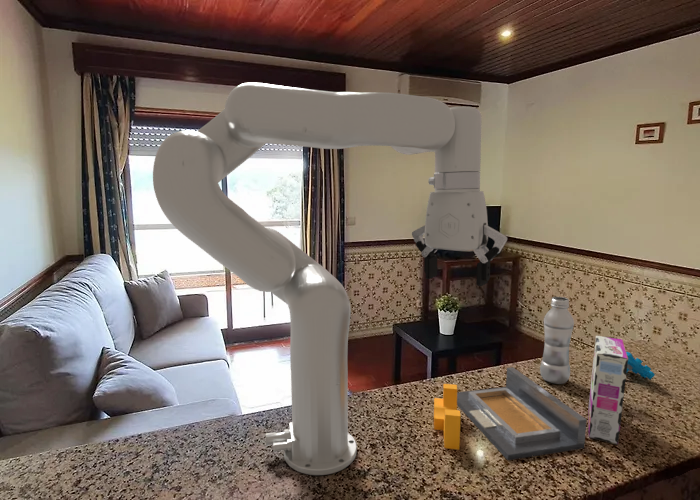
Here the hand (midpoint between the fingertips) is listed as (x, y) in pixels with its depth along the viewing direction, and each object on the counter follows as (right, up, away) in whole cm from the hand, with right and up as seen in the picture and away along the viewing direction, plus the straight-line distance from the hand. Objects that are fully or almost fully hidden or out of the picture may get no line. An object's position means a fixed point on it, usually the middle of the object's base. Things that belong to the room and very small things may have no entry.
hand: (455, 280), depth 76 cm
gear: (+48, -25, +27) cm, 61 cm away
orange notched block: (-1, -29, +5) cm, 29 cm away
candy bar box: (+30, -29, +6) cm, 42 cm away
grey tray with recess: (+13, -28, +8) cm, 32 cm away
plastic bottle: (+30, -26, +25) cm, 47 cm away
